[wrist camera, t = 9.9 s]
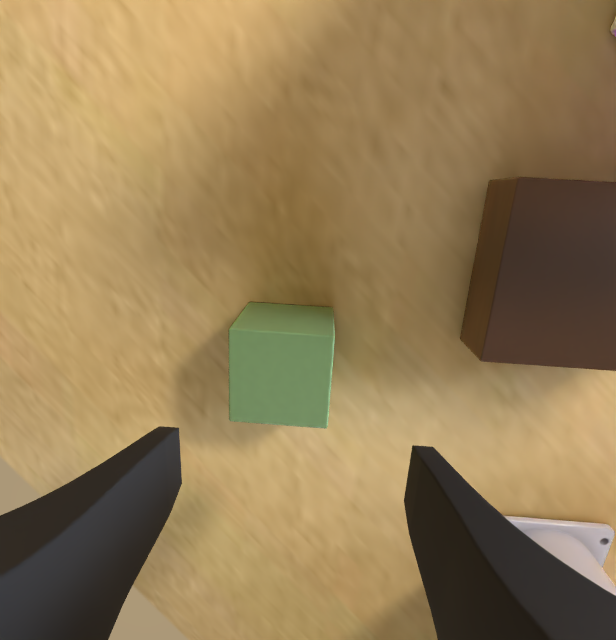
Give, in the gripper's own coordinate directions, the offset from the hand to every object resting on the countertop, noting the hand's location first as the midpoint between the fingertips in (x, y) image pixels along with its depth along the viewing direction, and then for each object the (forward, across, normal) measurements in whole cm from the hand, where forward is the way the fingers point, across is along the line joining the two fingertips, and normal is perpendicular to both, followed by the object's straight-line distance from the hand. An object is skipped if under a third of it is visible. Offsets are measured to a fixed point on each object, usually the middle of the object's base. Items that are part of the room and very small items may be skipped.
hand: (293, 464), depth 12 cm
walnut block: (+10, -12, -5) cm, 16 cm away
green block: (+10, +1, 0) cm, 10 cm away
